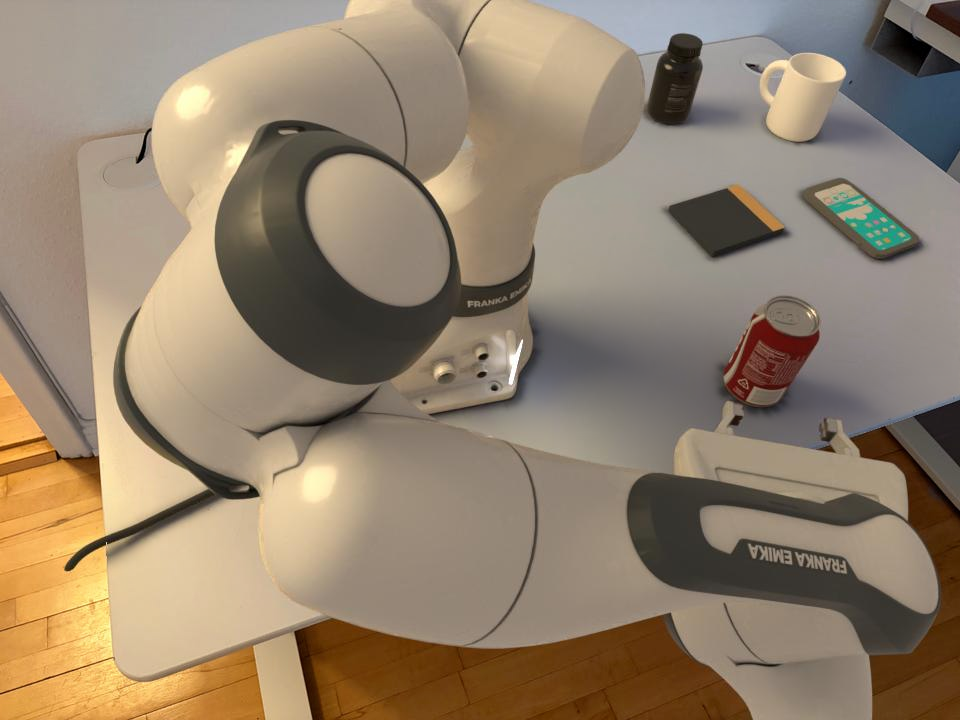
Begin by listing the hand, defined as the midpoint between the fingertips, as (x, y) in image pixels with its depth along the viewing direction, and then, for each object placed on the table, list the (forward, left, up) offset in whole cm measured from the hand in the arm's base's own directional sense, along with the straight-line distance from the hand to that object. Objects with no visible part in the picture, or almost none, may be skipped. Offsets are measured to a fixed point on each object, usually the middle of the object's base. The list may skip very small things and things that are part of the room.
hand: (780, 413), depth 70 cm
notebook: (+20, +31, -7) cm, 37 cm away
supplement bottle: (+28, +56, -7) cm, 63 cm away
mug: (+44, +47, -7) cm, 65 cm away
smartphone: (+38, +24, -7) cm, 46 cm away
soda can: (+5, +7, -7) cm, 11 cm away
